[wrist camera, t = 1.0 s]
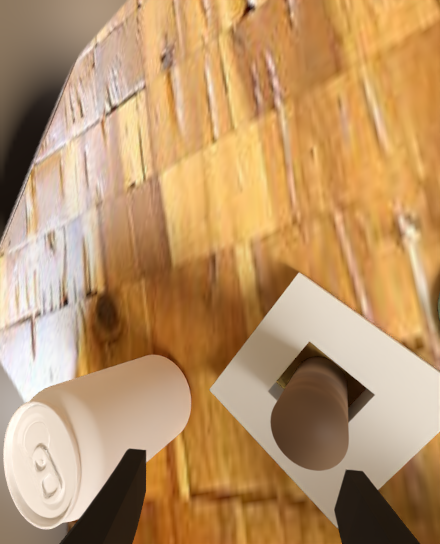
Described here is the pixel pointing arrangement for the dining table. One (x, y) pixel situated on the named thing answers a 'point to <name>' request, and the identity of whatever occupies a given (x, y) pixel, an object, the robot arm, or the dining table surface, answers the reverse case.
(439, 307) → the teal pad
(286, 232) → the dining table surface
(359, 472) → the robot arm
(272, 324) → the block
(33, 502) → the beverage can
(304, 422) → the walnut dowel
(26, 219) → the dining table surface
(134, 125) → the dining table surface
